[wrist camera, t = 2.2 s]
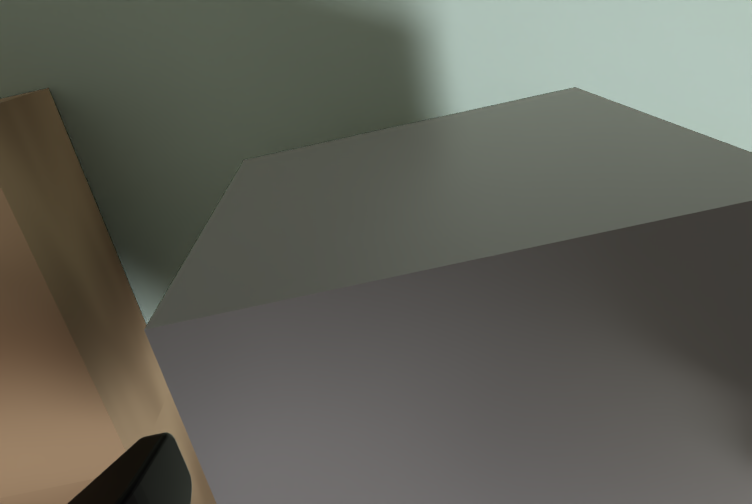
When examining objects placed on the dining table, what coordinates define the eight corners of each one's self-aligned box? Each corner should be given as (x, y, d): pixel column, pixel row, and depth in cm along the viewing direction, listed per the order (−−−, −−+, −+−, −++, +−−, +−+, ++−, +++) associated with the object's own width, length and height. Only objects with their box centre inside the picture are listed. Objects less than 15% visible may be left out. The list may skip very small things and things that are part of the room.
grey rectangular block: (557, 325, 15) (785, 663, 8) (329, 373, 16) (320, 751, 8) (532, 71, 13) (834, 183, 5) (260, 131, 13) (143, 329, 5)
